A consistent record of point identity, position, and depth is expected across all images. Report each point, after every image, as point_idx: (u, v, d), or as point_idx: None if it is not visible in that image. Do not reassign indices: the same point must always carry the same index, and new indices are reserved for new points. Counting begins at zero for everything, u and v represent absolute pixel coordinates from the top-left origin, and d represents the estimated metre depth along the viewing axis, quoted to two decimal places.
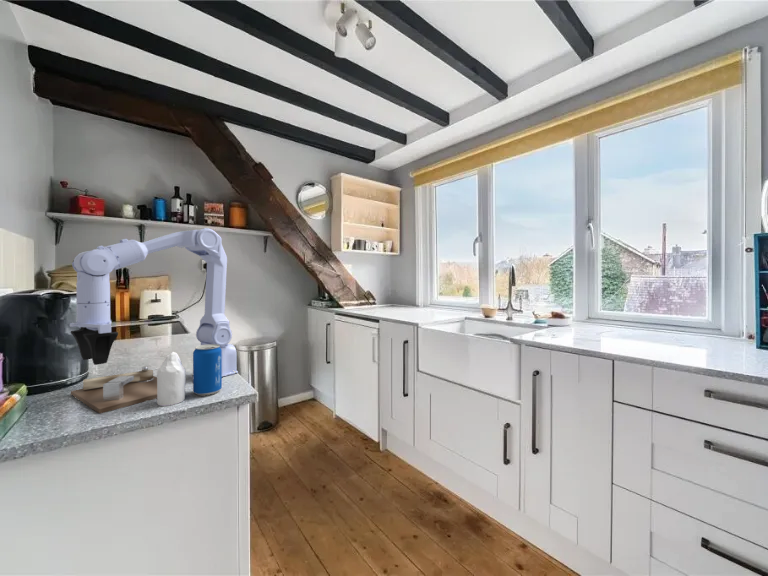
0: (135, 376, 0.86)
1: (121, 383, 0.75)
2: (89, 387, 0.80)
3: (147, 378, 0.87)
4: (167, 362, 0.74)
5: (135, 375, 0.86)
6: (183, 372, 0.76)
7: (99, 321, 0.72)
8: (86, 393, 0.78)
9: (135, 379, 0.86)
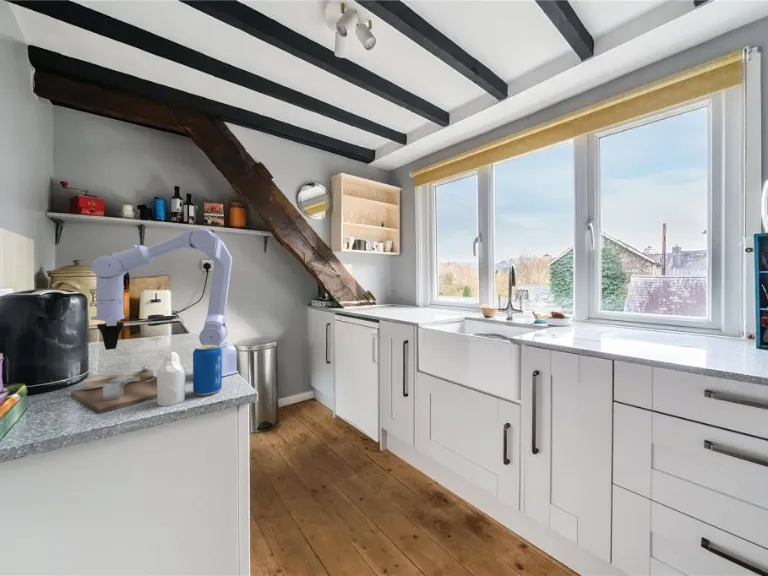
0: (135, 376, 0.86)
1: (121, 383, 0.75)
2: (89, 387, 0.80)
3: (147, 378, 0.87)
4: (167, 362, 0.74)
5: (135, 375, 0.86)
6: (183, 372, 0.76)
7: (111, 315, 0.86)
8: (86, 393, 0.78)
9: (135, 379, 0.86)
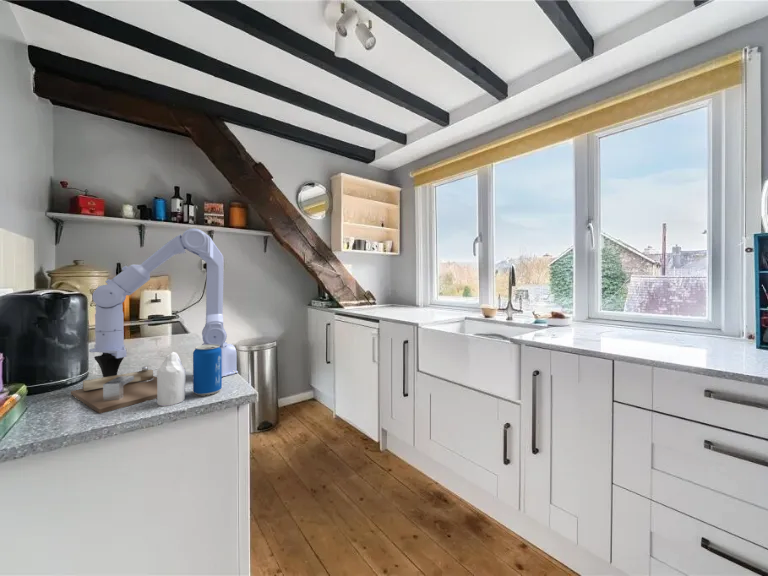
0: (136, 376, 0.86)
1: (121, 383, 0.75)
2: (90, 388, 0.79)
3: (148, 378, 0.87)
4: (167, 362, 0.74)
5: (136, 375, 0.86)
6: (183, 372, 0.76)
7: (115, 347, 0.83)
8: (86, 393, 0.78)
9: (136, 379, 0.86)
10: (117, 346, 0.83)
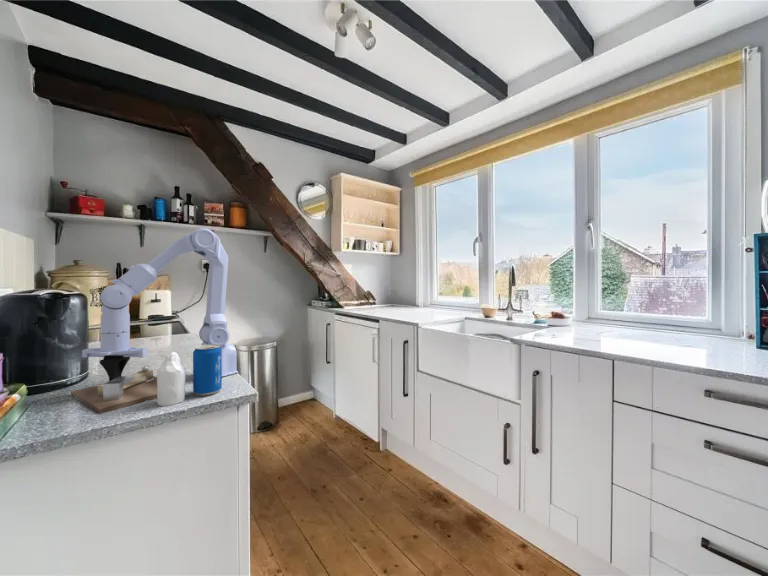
0: (143, 376, 0.86)
1: (121, 383, 0.75)
2: None
3: (152, 377, 0.89)
4: (167, 362, 0.74)
5: (143, 375, 0.86)
6: (183, 372, 0.76)
7: (127, 348, 0.81)
8: (86, 393, 0.78)
9: (143, 379, 0.86)
10: (128, 347, 0.82)
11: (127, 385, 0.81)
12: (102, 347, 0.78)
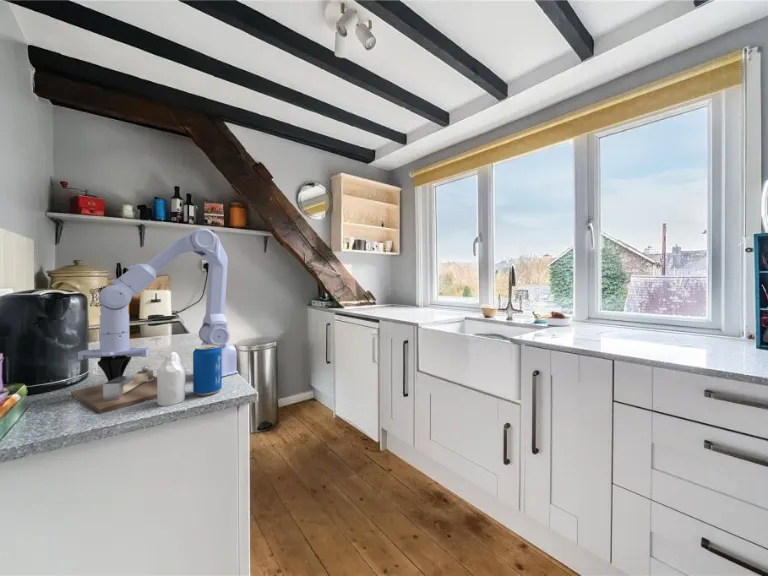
0: (146, 375, 0.86)
1: (121, 383, 0.75)
2: (125, 391, 0.78)
3: (152, 376, 0.89)
4: (167, 362, 0.74)
5: (146, 375, 0.86)
6: (183, 372, 0.76)
7: (128, 348, 0.81)
8: (86, 393, 0.78)
9: (146, 378, 0.86)
10: None
11: (135, 384, 0.82)
12: (103, 348, 0.78)
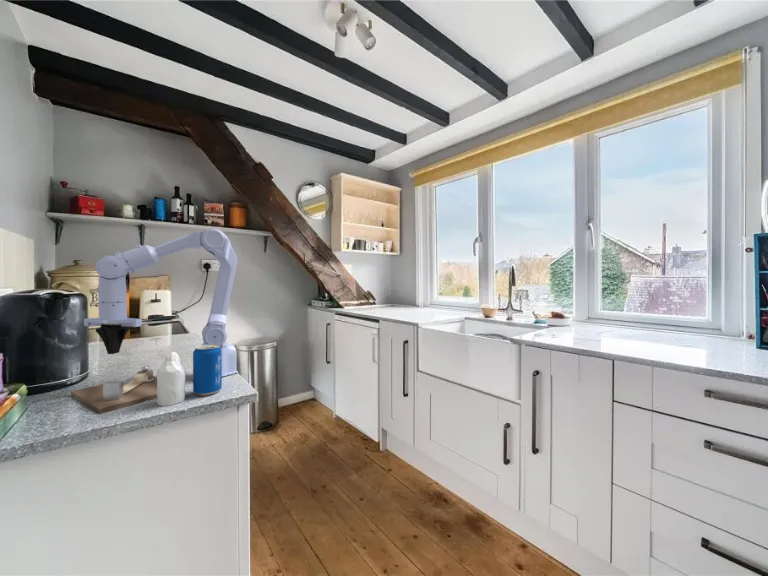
0: (146, 375, 0.86)
1: (121, 383, 0.75)
2: (125, 391, 0.78)
3: (152, 376, 0.89)
4: (167, 362, 0.74)
5: (146, 375, 0.86)
6: (183, 372, 0.76)
7: (123, 317, 0.84)
8: (86, 393, 0.78)
9: (146, 378, 0.86)
10: (125, 317, 0.85)
11: (135, 384, 0.82)
12: (99, 316, 0.82)
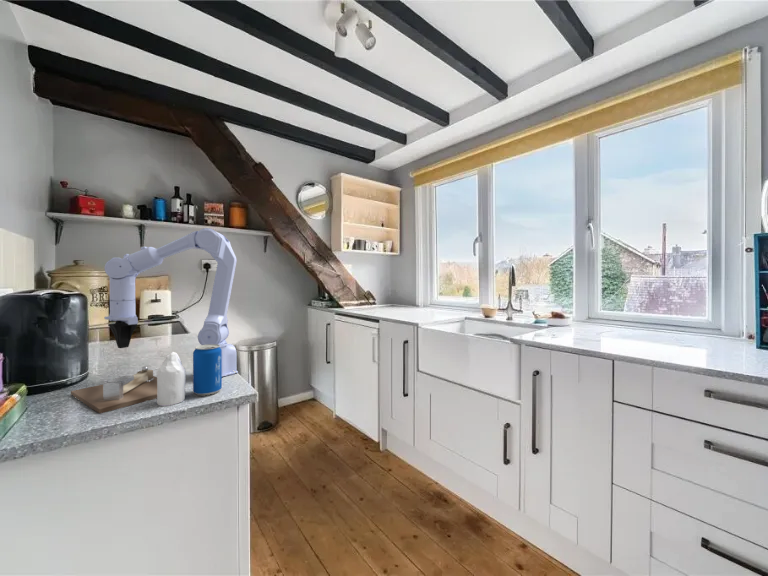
0: (146, 375, 0.86)
1: (121, 383, 0.75)
2: (125, 391, 0.78)
3: (152, 376, 0.89)
4: (167, 362, 0.74)
5: (146, 375, 0.86)
6: (183, 372, 0.76)
7: (127, 315, 0.90)
8: (86, 393, 0.78)
9: (146, 378, 0.86)
10: (129, 315, 0.90)
11: (135, 384, 0.82)
12: (110, 312, 0.90)
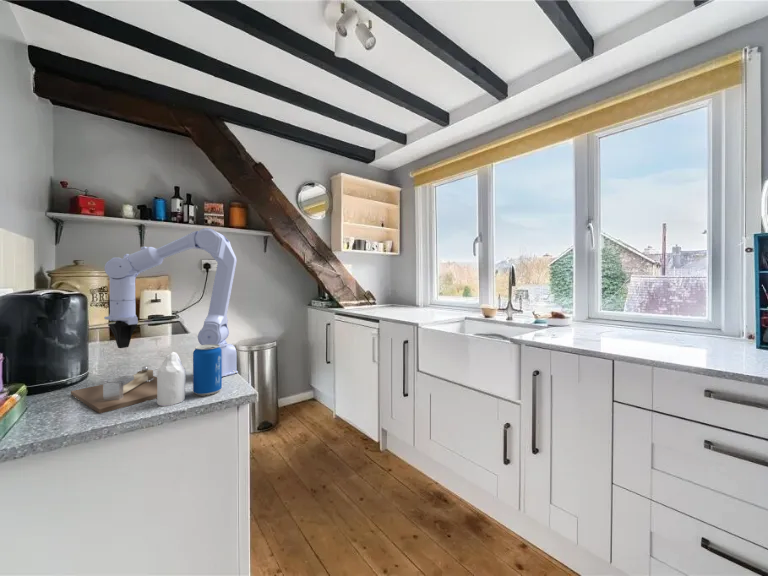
0: (146, 375, 0.86)
1: (121, 383, 0.75)
2: (125, 391, 0.78)
3: (152, 376, 0.89)
4: (167, 362, 0.74)
5: (146, 375, 0.86)
6: (183, 372, 0.76)
7: (127, 315, 0.90)
8: (86, 393, 0.78)
9: (146, 378, 0.86)
10: (129, 315, 0.90)
11: (135, 384, 0.82)
12: (110, 312, 0.90)
